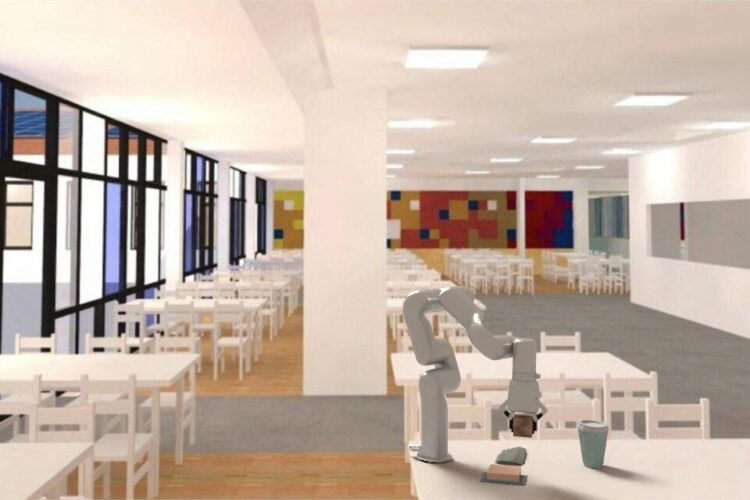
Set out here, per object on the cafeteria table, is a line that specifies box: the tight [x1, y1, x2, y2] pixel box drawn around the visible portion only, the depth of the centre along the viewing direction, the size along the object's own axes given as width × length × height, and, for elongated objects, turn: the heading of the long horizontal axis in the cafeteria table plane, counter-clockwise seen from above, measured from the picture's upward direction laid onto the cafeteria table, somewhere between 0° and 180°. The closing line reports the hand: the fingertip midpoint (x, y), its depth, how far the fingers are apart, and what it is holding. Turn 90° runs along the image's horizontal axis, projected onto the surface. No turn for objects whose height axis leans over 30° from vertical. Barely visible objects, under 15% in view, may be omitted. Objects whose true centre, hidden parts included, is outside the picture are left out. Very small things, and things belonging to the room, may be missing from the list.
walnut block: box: [512, 413, 534, 439], centre depth 237 cm, size 6×6×6 cm
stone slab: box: [494, 446, 527, 467], centre depth 262 cm, size 22×3×10 cm
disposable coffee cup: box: [576, 418, 610, 469], centre depth 251 cm, size 11×11×15 cm
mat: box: [480, 471, 528, 486], centre depth 236 cm, size 14×10×1 cm
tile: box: [486, 463, 522, 483], centre depth 237 cm, size 10×2×10 cm
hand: (522, 431), depth 237 cm, fingers closed on walnut block, 6 cm apart
